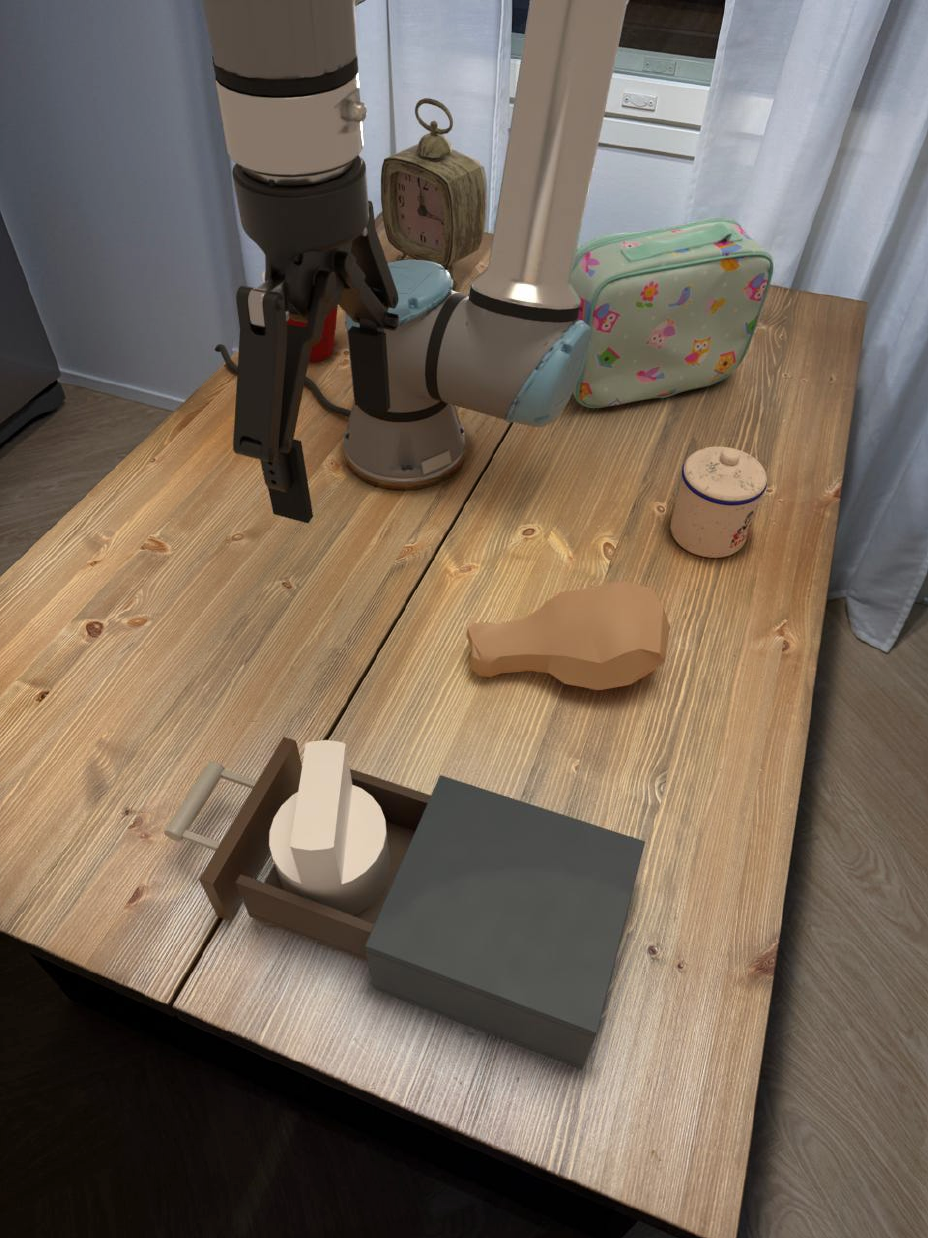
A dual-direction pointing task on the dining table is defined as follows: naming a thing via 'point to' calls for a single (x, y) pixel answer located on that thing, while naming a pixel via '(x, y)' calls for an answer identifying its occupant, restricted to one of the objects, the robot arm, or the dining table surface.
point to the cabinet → (506, 919)
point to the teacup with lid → (717, 501)
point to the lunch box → (667, 309)
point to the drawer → (250, 844)
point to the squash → (579, 638)
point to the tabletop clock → (434, 198)
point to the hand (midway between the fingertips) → (335, 457)
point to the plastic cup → (327, 338)
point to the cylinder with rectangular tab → (331, 835)
